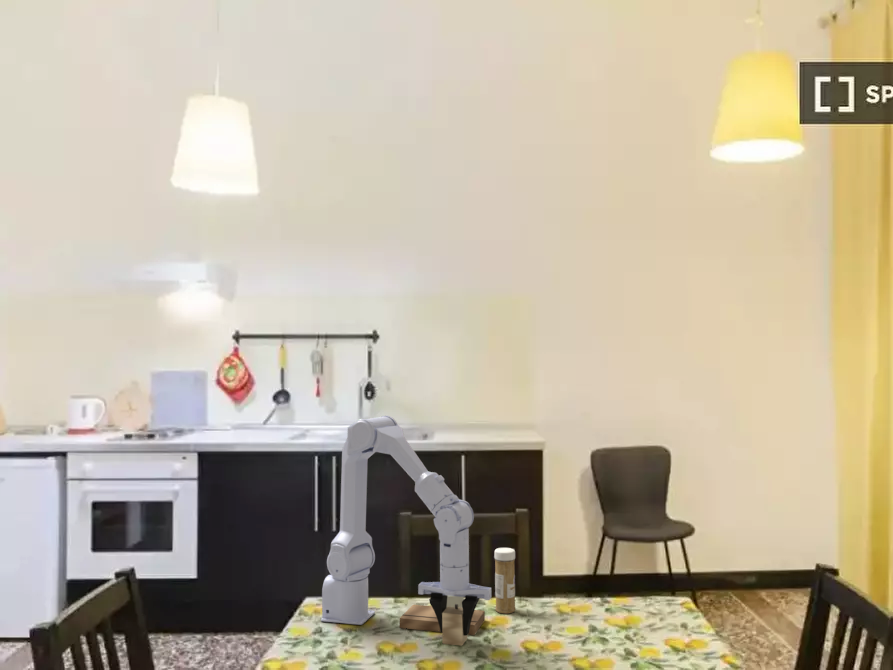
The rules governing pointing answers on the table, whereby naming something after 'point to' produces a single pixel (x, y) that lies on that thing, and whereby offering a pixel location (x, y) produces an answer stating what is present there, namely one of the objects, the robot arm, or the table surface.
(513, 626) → the table surface
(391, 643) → the table surface
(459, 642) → the block
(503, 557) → the sprinkles bottle
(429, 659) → the table surface
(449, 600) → the offcut block
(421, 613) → the plank
